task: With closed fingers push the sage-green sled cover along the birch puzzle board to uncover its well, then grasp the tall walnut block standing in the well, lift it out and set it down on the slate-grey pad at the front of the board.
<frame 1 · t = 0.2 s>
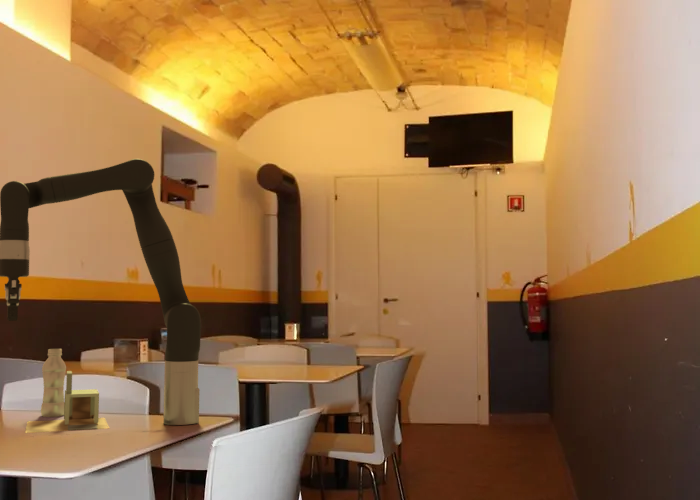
hand: (12, 320, 195), 29 cm above the table, fingers open, 8 cm apart
puzzle board: (67, 428, 199), on the table
plastic bottle: (52, 419, 216), on the table
walnut block: (80, 421, 204), point 1 cm above the table, touching puzzle board
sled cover: (81, 396, 205), point 8 cm above the table, slide at 0.0 cm
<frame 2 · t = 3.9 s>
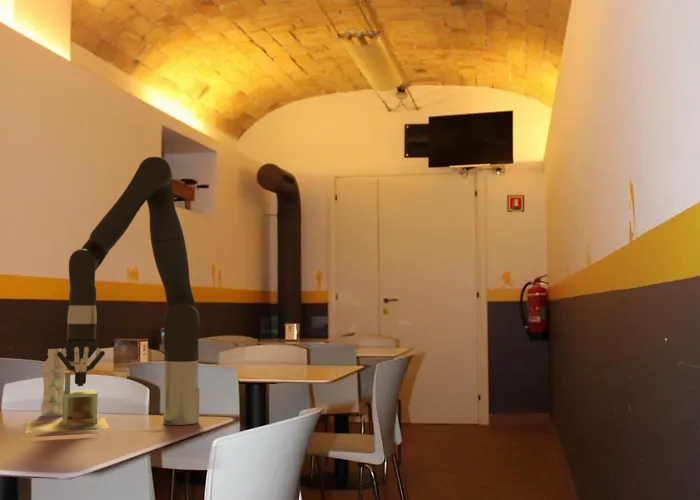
hand: (80, 385, 205), 11 cm above the table, fingers closed
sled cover: (79, 396, 204), point 8 cm above the table, slide at 0.4 cm, touching gripper
everything else where it was.
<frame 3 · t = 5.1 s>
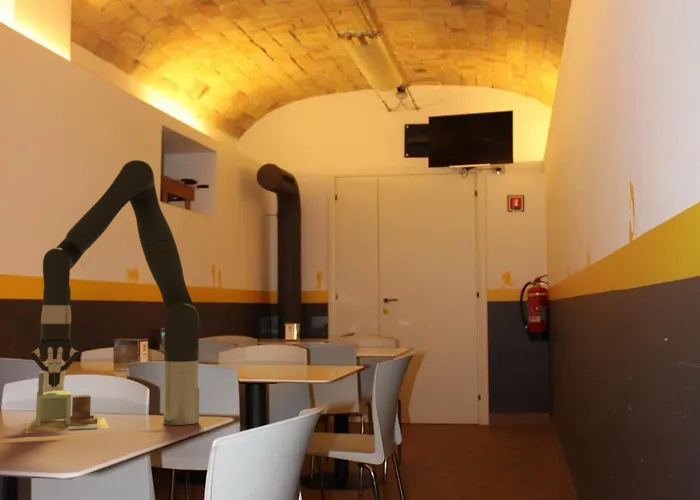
hand: (53, 386, 202), 11 cm above the table, fingers closed
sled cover: (53, 397, 202), point 8 cm above the table, slide at 7.0 cm, touching gripper
everything else where it was.
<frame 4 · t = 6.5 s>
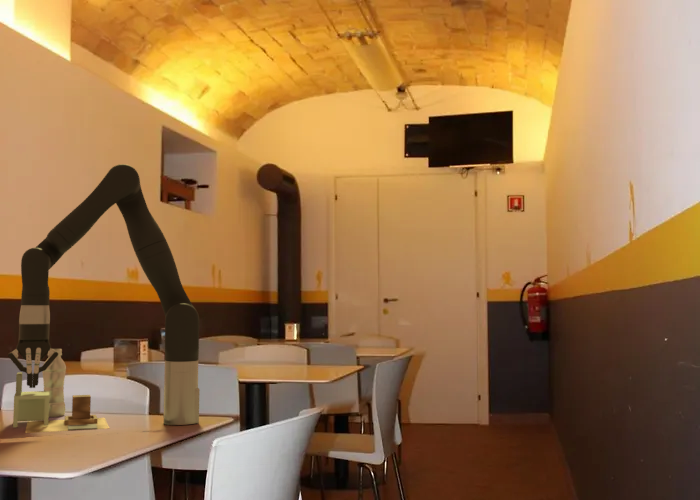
hand: (32, 387, 200), 11 cm above the table, fingers closed
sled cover: (32, 398, 200), point 8 cm above the table, slide at 12.4 cm, touching gripper
everything else where it was.
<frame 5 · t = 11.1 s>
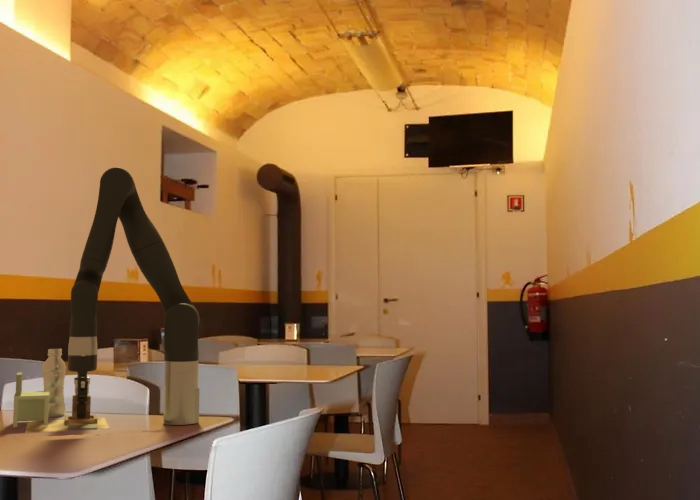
hand: (80, 416, 204), 3 cm above the table, fingers closed on walnut block, 4 cm apart
walnut block: (80, 421, 204), point 1 cm above the table, touching gripper, puzzle board
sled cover: (32, 398, 200), point 8 cm above the table, slide at 12.5 cm
everything else where it was.
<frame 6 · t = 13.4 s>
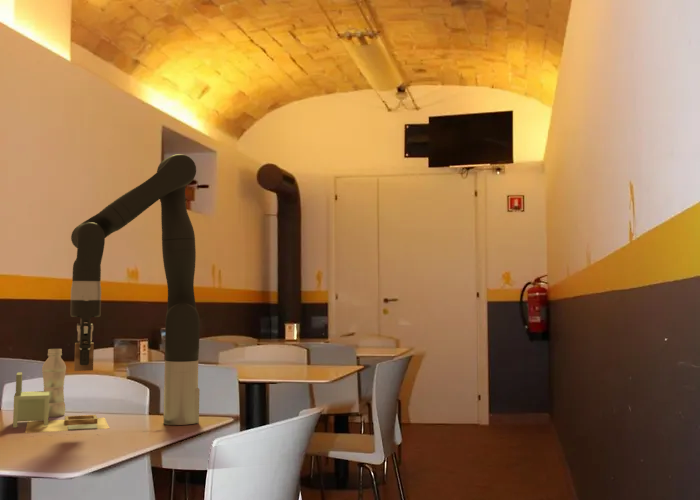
hand: (83, 364, 196), 17 cm above the table, fingers closed on walnut block, 4 cm apart
walnut block: (83, 370, 196), point 16 cm above the table, touching gripper
everything else where it was.
when the fingers open (4 cm above the table, at t = 15.9 s): walnut block drops 1 cm, resting on puzzle board.
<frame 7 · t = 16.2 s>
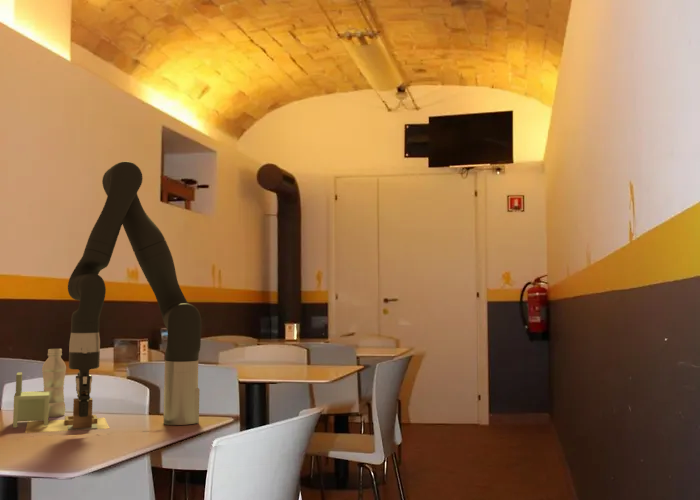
hand: (82, 414, 195), 4 cm above the table, fingers open, 7 cm apart
walnut block: (82, 426, 194), point 1 cm above the table, touching puzzle board
everything else where it was.
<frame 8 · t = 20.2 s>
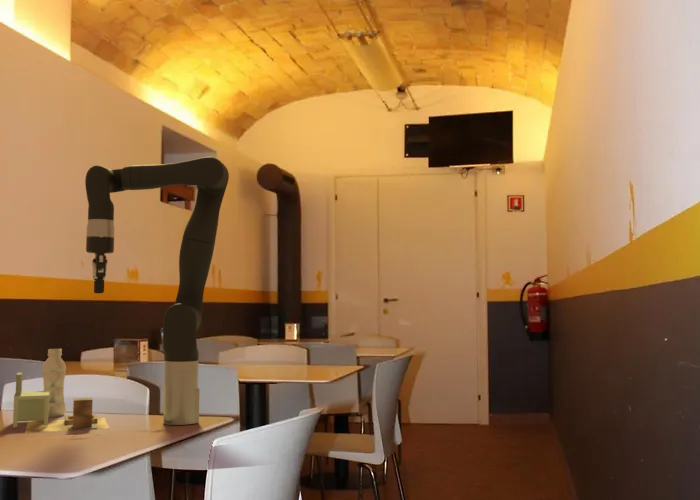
hand: (98, 293, 213), 36 cm above the table, fingers open, 8 cm apart
nothing on the table moved.
at the end: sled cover slide at 12.5 cm; walnut block inside the target area on the puzzle board (0.1 cm from its centre), point 1.3 cm above the puzzle board's base; walnut block tilted 0° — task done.
